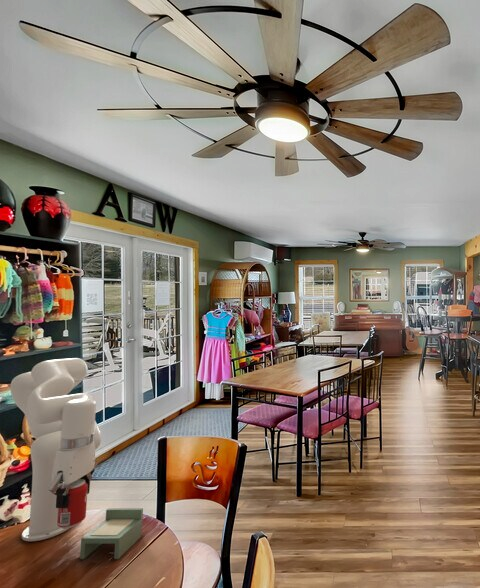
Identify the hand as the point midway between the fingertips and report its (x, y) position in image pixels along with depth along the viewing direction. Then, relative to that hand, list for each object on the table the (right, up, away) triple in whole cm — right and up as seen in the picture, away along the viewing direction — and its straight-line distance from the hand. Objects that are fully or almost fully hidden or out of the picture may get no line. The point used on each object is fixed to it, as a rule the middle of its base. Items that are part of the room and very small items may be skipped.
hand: (73, 500), depth 103 cm
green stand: (+10, -16, +2) cm, 19 cm away
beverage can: (0, -7, 0) cm, 7 cm away
